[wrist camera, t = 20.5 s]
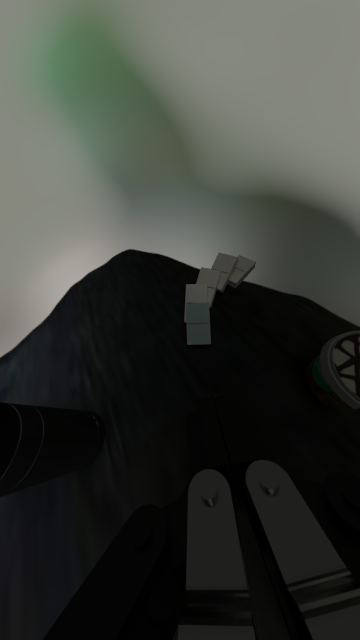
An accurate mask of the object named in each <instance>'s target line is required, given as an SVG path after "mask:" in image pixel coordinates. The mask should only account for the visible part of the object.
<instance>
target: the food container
mask: <svg viewBox="0 0 360 640" xmlns="http://www.w3.org/2000/svg"><path fill="white" fill-rule="evenodd" d="M305 379H306V383H307V385H308V387H309V389H310V391H311V392H312V394H313V395H314V396H315V397H316V398H317V399H318V400H319V401H320V402H322V403H323V404H324V405H349V406H351V407H352V408H353V409H358V408H360V331H353V332H347V333H344V334H341V335H338V336H335V337H333V338H332V339H330V340H329V341H328V342H327V343H326V344H325V345H324V346H323V348H322V351H321V354H320V355H319V356H317V357H316V358H315V359H314V360H313V361H312V362H310V363H309V364H308V366H307V368H306V371H305Z"/></svg>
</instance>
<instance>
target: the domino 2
mask: <svg viewBox="0 0 360 640" xmlns="http://www.w3.org/2000/svg"><path fill="white" fill-rule="evenodd" d="M207 298H208V284H190V285H186V299H185V318H184V322H185V323H187V318H186V304H189V303H206V302H207Z"/></svg>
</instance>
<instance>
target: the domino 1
mask: <svg viewBox="0 0 360 640" xmlns="http://www.w3.org/2000/svg"><path fill="white" fill-rule="evenodd" d="M220 278H221V271H219V270H213V269H208V268H201V270H200V273H199V276H198V279H197V283H196V284H208V298H207V302H209V308H211V307H212V304H213V301H214V297H215V294H216V291H217V287H218V284H219V281H220Z"/></svg>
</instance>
